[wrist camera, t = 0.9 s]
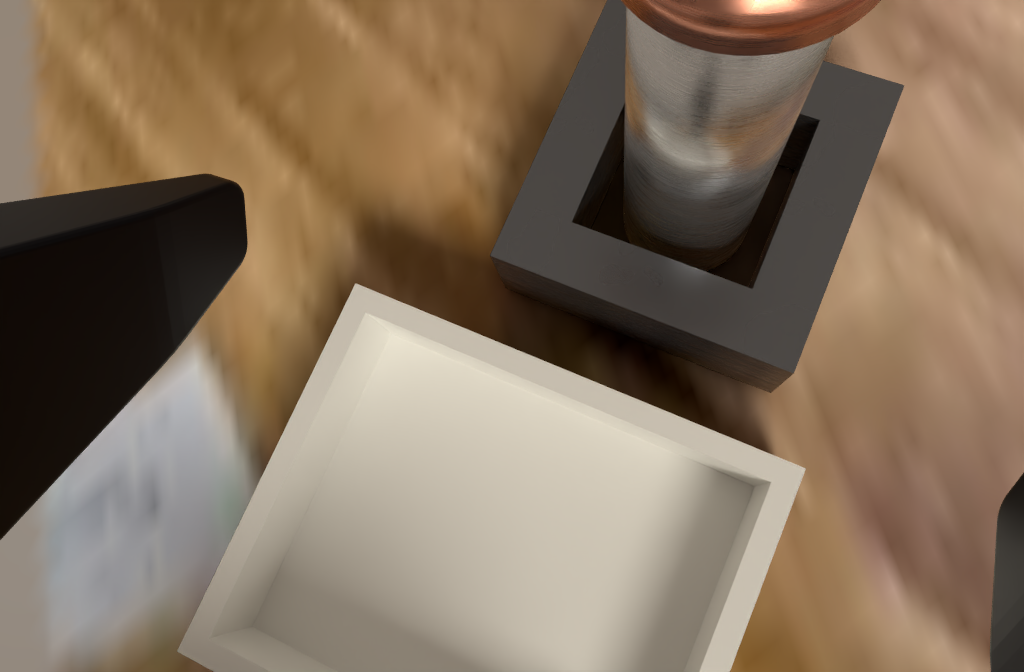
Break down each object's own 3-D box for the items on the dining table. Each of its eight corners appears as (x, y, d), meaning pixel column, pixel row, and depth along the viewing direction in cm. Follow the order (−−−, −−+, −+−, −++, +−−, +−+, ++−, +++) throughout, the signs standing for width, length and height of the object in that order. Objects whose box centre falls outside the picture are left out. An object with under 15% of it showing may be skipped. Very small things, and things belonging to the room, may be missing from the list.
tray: (638, 850, 20) (641, 906, 17) (234, 634, 22) (176, 651, 20) (780, 475, 22) (805, 468, 19) (387, 312, 24) (355, 283, 21)
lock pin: (733, 314, 23) (874, 57, 10) (581, 257, 24) (540, -43, 11) (790, 172, 23) (988, -234, 11) (641, 122, 24) (665, -305, 12)
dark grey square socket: (770, 392, 22) (793, 373, 19) (505, 288, 24) (489, 255, 21) (868, 139, 23) (904, 85, 20) (610, 56, 25) (609, -5, 22)
